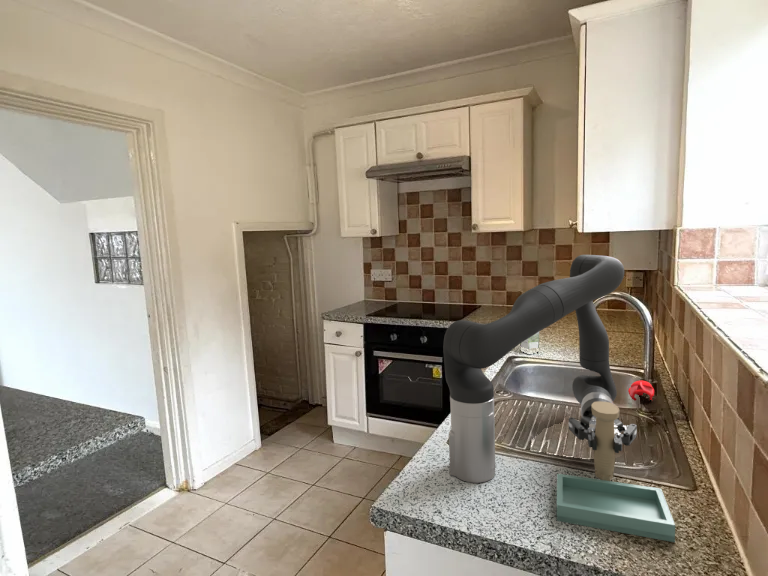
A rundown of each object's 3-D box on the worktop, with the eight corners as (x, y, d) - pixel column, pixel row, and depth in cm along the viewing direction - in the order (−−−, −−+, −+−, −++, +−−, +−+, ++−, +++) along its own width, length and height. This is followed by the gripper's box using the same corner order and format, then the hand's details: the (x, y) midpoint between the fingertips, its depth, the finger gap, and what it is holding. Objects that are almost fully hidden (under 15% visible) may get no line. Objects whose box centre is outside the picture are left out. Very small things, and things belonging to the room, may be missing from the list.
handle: (613, 470, 92) (615, 402, 90) (620, 488, 86) (622, 414, 84) (588, 468, 94) (589, 400, 92) (593, 485, 87) (594, 412, 86)
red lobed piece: (659, 395, 126) (658, 379, 130) (637, 387, 127) (637, 371, 131) (646, 409, 131) (645, 394, 136) (625, 402, 133) (625, 387, 137)
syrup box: (531, 350, 191) (530, 317, 190) (539, 353, 186) (539, 319, 184) (519, 352, 189) (519, 318, 188) (528, 355, 184) (528, 321, 182)
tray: (556, 520, 79) (556, 505, 78) (557, 487, 89) (557, 473, 88) (674, 542, 72) (675, 525, 72) (660, 503, 82) (661, 488, 82)
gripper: (566, 394, 104) (567, 424, 88) (633, 400, 99) (647, 433, 83) (565, 424, 105) (566, 459, 89) (633, 432, 100) (646, 470, 84)
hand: (605, 446), depth 86 cm, fingers closed on handle, 3 cm apart
